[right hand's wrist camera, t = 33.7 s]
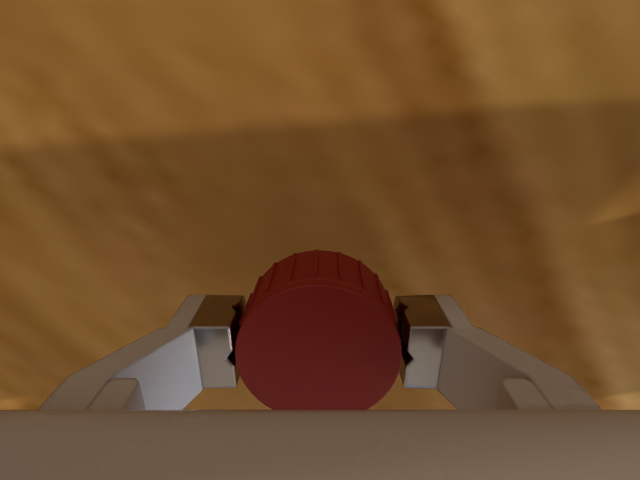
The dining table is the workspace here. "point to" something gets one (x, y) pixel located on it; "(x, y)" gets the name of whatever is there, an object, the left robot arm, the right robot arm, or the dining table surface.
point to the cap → (319, 335)
